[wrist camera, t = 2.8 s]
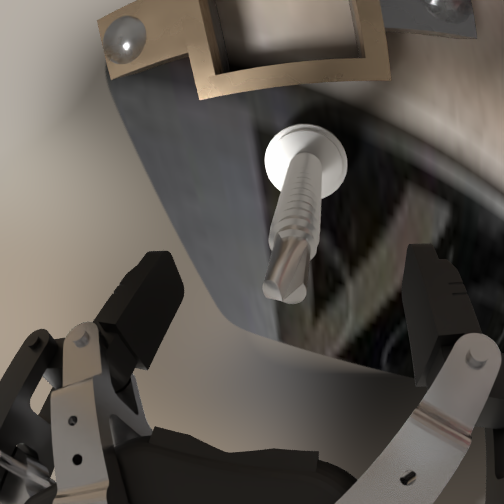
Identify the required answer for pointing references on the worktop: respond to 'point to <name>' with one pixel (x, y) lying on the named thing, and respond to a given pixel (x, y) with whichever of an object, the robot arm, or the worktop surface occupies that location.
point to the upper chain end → (207, 54)
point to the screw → (299, 203)
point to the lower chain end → (396, 21)
